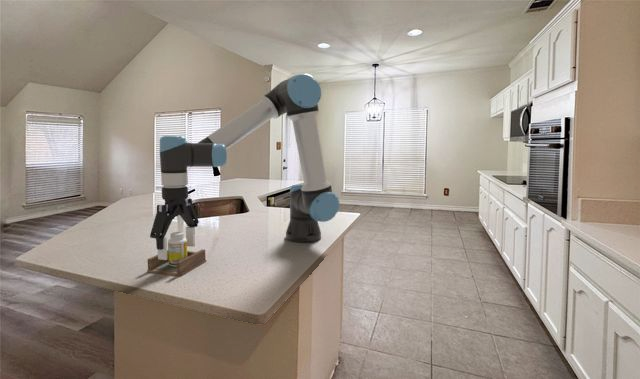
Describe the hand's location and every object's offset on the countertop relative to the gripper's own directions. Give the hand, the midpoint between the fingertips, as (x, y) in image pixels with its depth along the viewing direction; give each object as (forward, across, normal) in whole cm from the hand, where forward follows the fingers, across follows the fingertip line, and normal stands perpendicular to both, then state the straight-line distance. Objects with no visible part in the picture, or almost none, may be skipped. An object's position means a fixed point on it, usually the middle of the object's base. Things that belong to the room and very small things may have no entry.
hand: (177, 252), depth 105 cm
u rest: (+5, 0, 0) cm, 5 cm away
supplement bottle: (+4, 0, 0) cm, 4 cm away
